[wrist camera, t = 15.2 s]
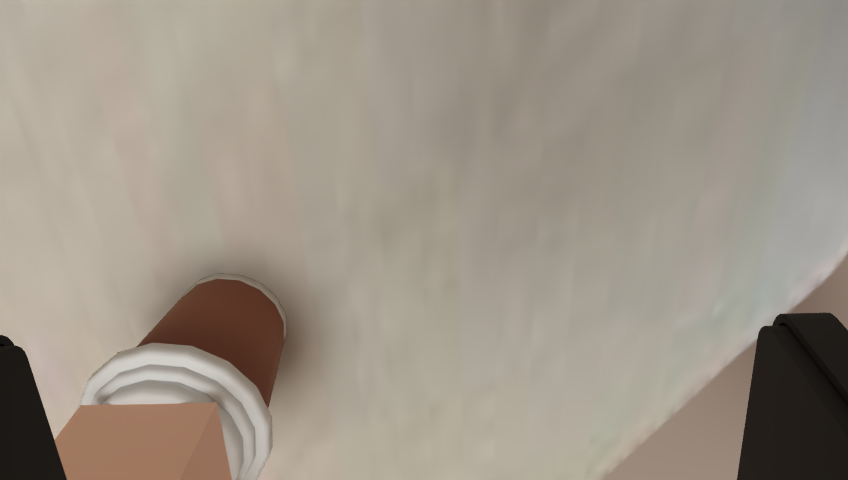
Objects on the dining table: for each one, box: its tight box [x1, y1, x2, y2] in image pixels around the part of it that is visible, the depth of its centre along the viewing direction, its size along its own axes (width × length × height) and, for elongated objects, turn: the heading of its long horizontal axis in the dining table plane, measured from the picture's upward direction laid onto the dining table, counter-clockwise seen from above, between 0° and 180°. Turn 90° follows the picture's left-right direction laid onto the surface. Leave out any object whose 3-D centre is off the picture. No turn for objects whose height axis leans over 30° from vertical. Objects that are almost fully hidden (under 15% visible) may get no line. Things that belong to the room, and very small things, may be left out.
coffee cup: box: [78, 274, 286, 480], centre depth 39 cm, size 9×9×12 cm
